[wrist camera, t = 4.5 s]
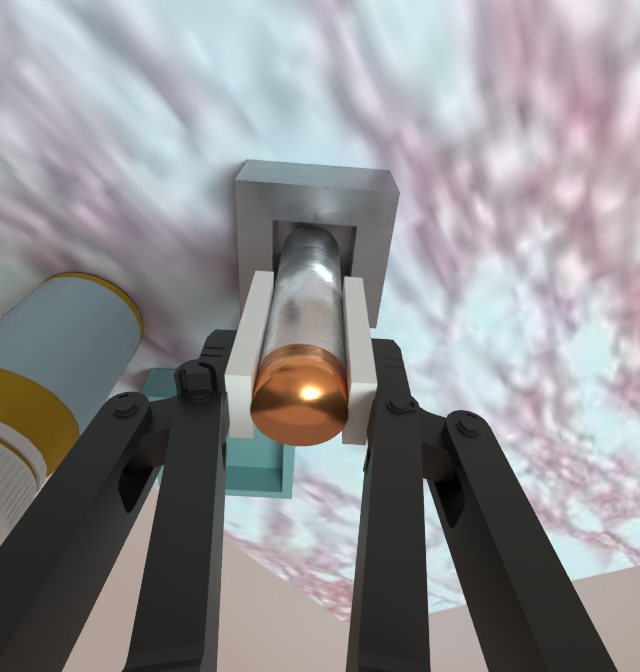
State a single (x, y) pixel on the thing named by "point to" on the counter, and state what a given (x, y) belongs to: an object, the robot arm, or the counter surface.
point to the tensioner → (316, 219)
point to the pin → (304, 345)
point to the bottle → (56, 377)
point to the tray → (239, 452)
